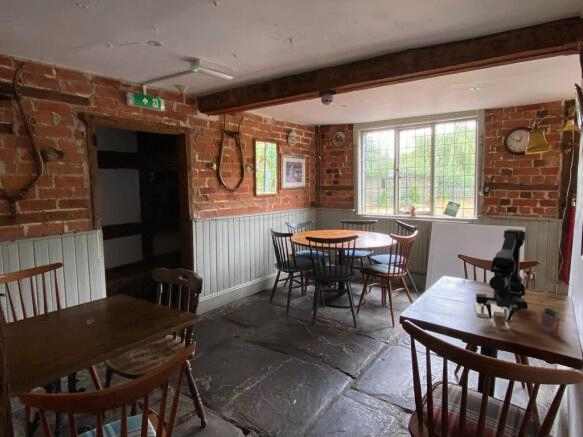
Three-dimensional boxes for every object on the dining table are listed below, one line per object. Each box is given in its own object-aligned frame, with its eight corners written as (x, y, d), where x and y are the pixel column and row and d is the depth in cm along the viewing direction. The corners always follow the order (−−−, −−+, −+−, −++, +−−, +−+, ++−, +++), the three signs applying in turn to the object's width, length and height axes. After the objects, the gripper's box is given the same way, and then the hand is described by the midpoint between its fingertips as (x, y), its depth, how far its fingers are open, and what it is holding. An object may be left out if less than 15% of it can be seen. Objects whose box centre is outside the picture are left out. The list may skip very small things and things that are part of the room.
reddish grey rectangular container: (537, 327, 150) (539, 305, 148) (544, 327, 150) (547, 305, 149) (553, 336, 142) (555, 312, 141) (560, 336, 142) (563, 312, 141)
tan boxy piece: (504, 322, 156) (505, 311, 155) (509, 330, 147) (510, 318, 147) (489, 320, 158) (489, 309, 157) (493, 328, 149) (493, 316, 149)
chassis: (505, 308, 171) (506, 299, 171) (511, 321, 157) (512, 311, 156) (473, 304, 177) (474, 296, 176) (476, 316, 162) (477, 306, 162)
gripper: (479, 287, 147) (476, 323, 149) (532, 293, 140) (529, 331, 141) (476, 280, 157) (474, 314, 159) (525, 285, 150) (523, 321, 152)
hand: (499, 320), depth 152 cm, fingers open, 6 cm apart
